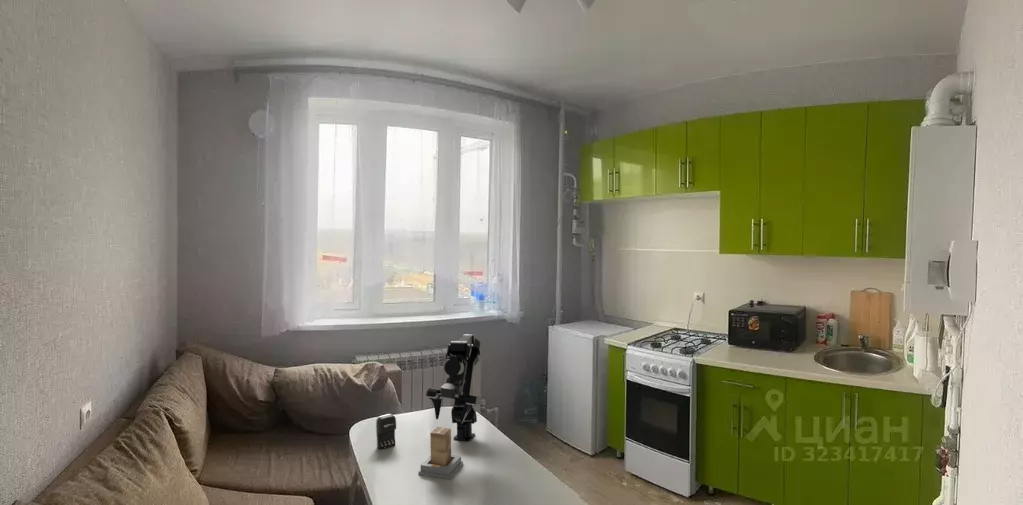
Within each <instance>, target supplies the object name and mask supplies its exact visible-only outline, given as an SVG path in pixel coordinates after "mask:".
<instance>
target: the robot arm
mask: <svg viewBox="0 0 1023 505" xmlns="http://www.w3.org/2000/svg"><path fill="white" fill-rule="evenodd" d="M482 348H483V347H482V344H481V341H479V339H477V338H476V335H475V334H473V333H463V334H462V335H461V337H460V338H459V339H458V340H451V341H450V342H449V344H448V346H447V350H446V353H445V354H446V355H445V360H447V361H446V363H444V368H443V369H444V372H445V374H447V375H448V377H447V378H446V382H445V383H444V384H442V385H441V386H440V388H434V387H433V388H432V387H429V388H428V389H427V390H426V394H425V396H426V397H428V399H429V400H431V401H432V404H433V408H434V415H435V419H436V420H438V419H439V417H440V413H441V406H442V401H443V398H447V399H454V402H453V406H452V407H451V413H450V414H451V422H452V424H456V435H455V436H453V440H456V441H465V442H470V441H471V440H472V439H473V437H474V436H476V433H473V428H472V426H473V425H474V424H475V423H477V422H478V416H477V412H476V409H475V407H476V406H477V405H481V404H480V403H481V397H480V395H475V394H472V389H473V382H474V376H475V374H474V372H475V366H476V365H477V364H478V362H480V358H481V356H482ZM472 424H473V425H472Z"/></svg>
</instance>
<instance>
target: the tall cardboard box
mask: <svg viewBox="0 0 1023 505" xmlns="http://www.w3.org/2000/svg"><path fill="white" fill-rule="evenodd" d="M451 455H452V428H449V427H440V426H436V427H435V428H434V429H433V430H432V431H431V432H430V456H431V464H433V465H440V466H447V465H448V464H449V463H450V462H451Z"/></svg>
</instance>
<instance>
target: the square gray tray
mask: <svg viewBox="0 0 1023 505" xmlns="http://www.w3.org/2000/svg"><path fill="white" fill-rule="evenodd" d="M463 465H464V460H463V461H462V455H457V454H451V462H450V463H449V464H448V465H447V466H440V465H433V464H431V455H430V456H428V457H427V459H425V460H424V461H423V462H422V463H421V464H420V469H419V470H417V471H418V472H417V473H418V474H417V475H419V476H424V477H425V476H426V477H431V478H439V479H445V480H451V478H452V477H453V476H455V474H456V473H457V472H458V470H459V469H461V467H462V466H463Z"/></svg>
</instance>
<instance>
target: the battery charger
mask: <svg viewBox="0 0 1023 505" xmlns="http://www.w3.org/2000/svg"><path fill="white" fill-rule="evenodd" d="M396 429H397V419H396V416H395V415H394V414H392V413H388V414H387V413H386V414H383V415H380V416H378V417H377V418H376V419H375V435H376V436H375V437H376V448H378V449H380V450H381V449H387V448H391V447H393V446H395V445H396V434H395V433H396Z"/></svg>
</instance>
